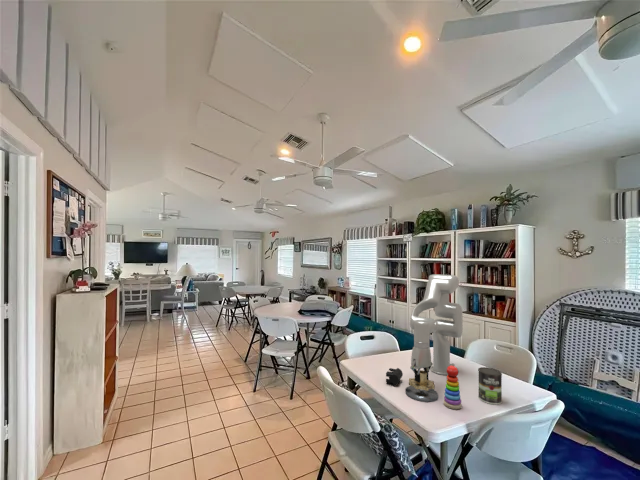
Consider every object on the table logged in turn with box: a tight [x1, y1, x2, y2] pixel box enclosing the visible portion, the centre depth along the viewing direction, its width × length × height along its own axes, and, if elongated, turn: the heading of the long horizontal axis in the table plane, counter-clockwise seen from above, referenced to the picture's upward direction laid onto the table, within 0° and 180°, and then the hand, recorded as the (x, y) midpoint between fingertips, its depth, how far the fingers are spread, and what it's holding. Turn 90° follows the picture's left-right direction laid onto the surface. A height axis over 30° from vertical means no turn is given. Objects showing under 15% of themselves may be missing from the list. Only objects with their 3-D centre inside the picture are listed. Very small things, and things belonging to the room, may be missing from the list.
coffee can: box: [477, 366, 503, 406], centre depth 149 cm, size 10×10×14 cm
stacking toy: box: [443, 365, 463, 410], centre depth 142 cm, size 8×8×19 cm
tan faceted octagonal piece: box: [408, 369, 436, 391], centre depth 153 cm, size 12×12×6 cm
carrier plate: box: [404, 385, 439, 403], centre depth 153 cm, size 16×16×4 cm
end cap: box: [385, 367, 404, 387], centre depth 166 cm, size 10×7×7 cm
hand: (421, 380), depth 153 cm, fingers closed on tan faceted octagonal piece, 5 cm apart
